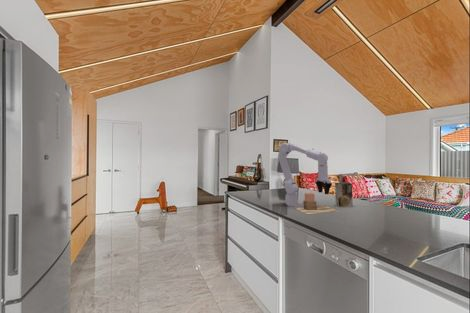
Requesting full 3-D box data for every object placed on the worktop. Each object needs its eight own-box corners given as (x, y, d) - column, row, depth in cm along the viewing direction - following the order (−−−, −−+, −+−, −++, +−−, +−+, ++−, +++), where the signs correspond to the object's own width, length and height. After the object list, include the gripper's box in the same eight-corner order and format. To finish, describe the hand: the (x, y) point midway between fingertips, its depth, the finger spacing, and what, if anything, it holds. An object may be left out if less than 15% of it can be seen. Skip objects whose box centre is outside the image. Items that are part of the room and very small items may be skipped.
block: (304, 200, 158) (304, 192, 158) (311, 200, 158) (311, 192, 158) (307, 202, 153) (307, 194, 153) (314, 201, 154) (314, 193, 154)
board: (293, 209, 162) (293, 207, 162) (324, 206, 165) (324, 205, 165) (306, 215, 144) (306, 213, 144) (340, 212, 148) (340, 211, 148)
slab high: (303, 204, 159) (303, 200, 159) (312, 203, 159) (312, 200, 159) (307, 206, 153) (307, 202, 153) (316, 205, 154) (316, 201, 153)
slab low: (303, 208, 158) (303, 204, 158) (312, 207, 160) (312, 203, 159) (307, 210, 153) (307, 206, 153) (316, 209, 154) (316, 205, 154)
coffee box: (349, 206, 165) (348, 182, 165) (352, 208, 159) (352, 183, 158) (335, 206, 166) (334, 182, 166) (338, 208, 160) (337, 183, 159)
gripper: (335, 172, 151) (335, 194, 151) (322, 171, 165) (323, 191, 165) (324, 173, 150) (325, 195, 150) (313, 171, 164) (313, 191, 164)
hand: (323, 193), depth 157 cm, fingers open, 7 cm apart
